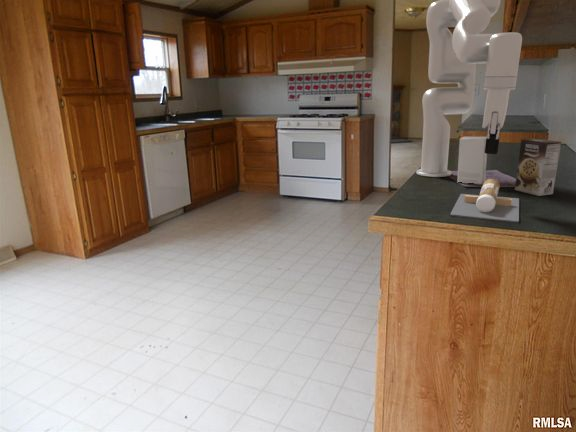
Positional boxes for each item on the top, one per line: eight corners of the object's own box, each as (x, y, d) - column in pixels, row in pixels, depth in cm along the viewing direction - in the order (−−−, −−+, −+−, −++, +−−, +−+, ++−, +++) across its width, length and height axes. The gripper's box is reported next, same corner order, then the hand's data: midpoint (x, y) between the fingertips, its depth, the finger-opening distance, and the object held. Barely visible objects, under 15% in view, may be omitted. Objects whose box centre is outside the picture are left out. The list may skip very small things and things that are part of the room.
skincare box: (485, 181, 151) (490, 136, 147) (481, 185, 146) (486, 138, 141) (460, 179, 156) (464, 135, 151) (455, 182, 150) (459, 137, 146)
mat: (460, 194, 134) (461, 188, 134) (518, 199, 127) (519, 192, 126) (450, 215, 114) (450, 207, 113) (518, 222, 107) (519, 214, 106)
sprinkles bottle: (488, 175, 123) (482, 193, 113) (503, 183, 122) (498, 203, 112) (479, 187, 126) (472, 207, 115) (493, 196, 125) (488, 216, 114)
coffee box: (513, 190, 139) (520, 139, 134) (528, 187, 141) (535, 137, 136) (538, 196, 130) (546, 142, 126) (554, 194, 132) (562, 140, 128)
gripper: (486, 82, 121) (478, 147, 127) (481, 85, 109) (473, 157, 115) (516, 82, 118) (507, 149, 124) (515, 85, 106) (504, 159, 112)
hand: (490, 153), depth 119 cm, fingers closed
